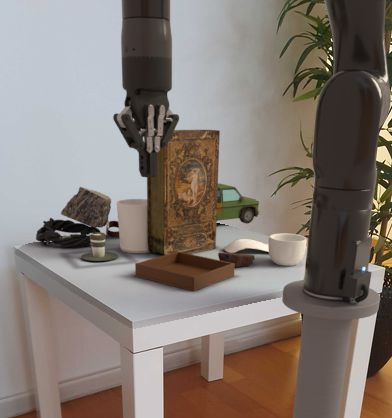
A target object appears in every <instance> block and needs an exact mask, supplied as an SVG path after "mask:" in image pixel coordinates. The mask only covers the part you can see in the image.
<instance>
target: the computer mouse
mask: <svg viewBox="0 0 392 418" xmlns="http://www.w3.org/2000/svg"><path fill="white" fill-rule="evenodd" d="M246 249H254V250H259V251H263V252H268V253H269V247H268V243H264V242H261V241H258V240H255V239H250V238H238V239H235V240H233V241H231V242H229V243H228V244H227V245H226V246H224V251H225V253H233V254H235V253H237V252H239V251H242V250H246Z"/></svg>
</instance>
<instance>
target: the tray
mask: <svg viewBox="0 0 392 418" xmlns="http://www.w3.org/2000/svg"><path fill="white" fill-rule="evenodd" d="M134 265H135V266H134V267H135V269H134V270H135V277H137V278H141V279H145V280H149V281H153V282H157V283H160V284H165V285H169V286H171V287H176V288H180V289H184V290H186V291H187V290H188V291H192V292H196V291H198V290H201V289H204V288H207V287H209V286H211V285H214V284H218V283H220V282H222V281H226V280H228V279H230V278H233V277H235V271H236V270H235V269H236V267H235V264H234V263H230V262H225V261H220V259H215V258H211V257H206V256H201V255H195V254H193V253H189V254H187V253H182V252H175V253H171V254H167V255H160V256H157V257H154V258H149V259H147V260H141V261H139V262H136V263H135V264H134Z"/></svg>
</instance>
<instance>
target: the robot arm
mask: <svg viewBox="0 0 392 418" xmlns="http://www.w3.org/2000/svg"><path fill="white" fill-rule="evenodd" d="M323 1H324V5H325V10H326V13H327V17H328V21H329V25H330V29H331V36H332V45H333V75H332V76H331V77H330V78H329V79H328V80H327V81H326V82H325V83H324V85H323V87H322V89H321V90H320V92H319V95H318V99H317V102H316V107H315V115H314V128H313V130H314V131H313V141H312V142H313V143H312V168H313V175H314V176H313V188H312V195H311V196H312V197H311V207H310V217H309V226H308V236H307V244H306V255H305V267H304V274H303V275H304V276H303V280H304V285H303V289H302V291H303V293H304V294H306V295H308V296H310V297H313V298H316V299H320V300H326V301H341V302H347V303H350V302H352V301H353V300H355V301H356V302H357V303H359V302H361V301H363V300H365V299H366V298H367V296H368V294H369V288H370V286H371V285H370V284H371V278H372V274H373V273H372V271H369V265H370V258H371V250H372V245H373V237H371V236H369V233H370V226H371V219H372V212H373V211H372V210H373V205H374V197H375V190H376V184H377V179H378V168H377V158H376V157H377V147H378V141H379V140H378V139H379V131H380V128H381V127H382V126H383V124H384V123H385V122H386V120H387V118H388V115H389V113H390V109H391V104H392V103H391V102H392V96H391V94H392V93H391V88H390V78H389V71H388V61H387V52H386V51H387V49H386V37H385V21H386V20H385V18H386V3H387V0H323ZM120 51H121V81H122V86H121V87H122V89H123V90H124V91H125V93H126V94H125V99H124V104H123V105H124V108H123V109H121V112H120V113H117V112H116V113H114V114H113V117H112V118H113V121H114V123H115V125H116V127H117V128H118V130H119V132H120V134H121V136H122V138H123V139H124V141H125V143H126V145H127V146H128V147H129V148H130V149H134V150H135V151H137V153H138V171H139V175H140V177H142V178H146V179H147V178H149V177H155V176H156V173H157V153H158V152H159V150H160V149H161V148H162V147H163V148H165V147H166V146H167V144H168V142H169V140H170V138H171V136H172V134H173V132H174V130H176V127H177V125H178V124H179V121H180V115H179V114H177V113H173V112H172V110H171V108H170V101H169V98H168V93H169V92H170V91H172V90H173V35H172V28H171V0H121V33H120ZM162 136H163V137H162ZM152 137H153V139H152ZM161 138H162V139H161Z"/></svg>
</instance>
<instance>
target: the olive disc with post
mask: <svg viewBox="0 0 392 418" xmlns="http://www.w3.org/2000/svg"><path fill="white" fill-rule="evenodd" d="M89 235H90V240H91V241H90V243H91V244H90V246H91V252H86V253H83V254H81V255H80V258H81V259H82V260H85V261H87V262H106V261H112V260H116V259H117V258H118V257H119V255H118V254H117V253H116V252H110V251H106V239H107V235H106V232H95V233H90V234H89Z"/></svg>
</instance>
